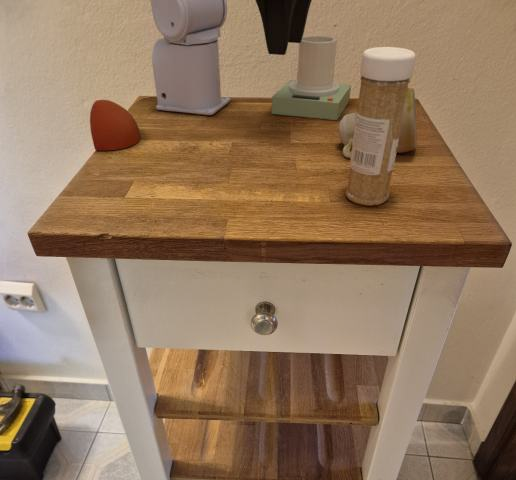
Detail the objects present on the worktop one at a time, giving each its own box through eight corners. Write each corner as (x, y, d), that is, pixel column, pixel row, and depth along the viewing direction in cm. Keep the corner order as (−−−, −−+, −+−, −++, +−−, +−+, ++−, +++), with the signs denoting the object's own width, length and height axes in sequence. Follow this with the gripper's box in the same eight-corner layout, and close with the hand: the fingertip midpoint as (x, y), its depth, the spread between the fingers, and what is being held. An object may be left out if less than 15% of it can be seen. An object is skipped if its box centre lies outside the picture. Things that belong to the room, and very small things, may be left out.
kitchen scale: (271, 114, 71) (271, 92, 69) (289, 96, 78) (290, 75, 76) (336, 120, 68) (339, 98, 66) (349, 101, 75) (351, 80, 73)
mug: (333, 137, 64) (380, 64, 58) (391, 180, 64) (443, 110, 58) (322, 141, 57) (374, 59, 52) (386, 188, 57) (445, 111, 52)
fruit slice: (153, 121, 65) (130, 145, 67) (114, 80, 62) (92, 106, 64) (138, 144, 59) (114, 169, 61) (94, 100, 56) (71, 128, 58)
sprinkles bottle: (397, 200, 49) (428, 51, 40) (365, 211, 47) (389, 58, 38) (367, 184, 52) (389, 43, 43) (335, 194, 50) (352, 49, 41)
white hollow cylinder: (292, 88, 70) (294, 41, 66) (301, 79, 74) (304, 34, 70) (328, 91, 69) (332, 43, 65) (335, 82, 73) (340, 36, 69)
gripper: (309, -98, 46) (301, 62, 55) (338, -96, 56) (327, 39, 65) (241, -97, 47) (244, 58, 57) (281, -95, 58) (278, 36, 67)
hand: (285, 48), depth 61 cm, fingers open, 7 cm apart
